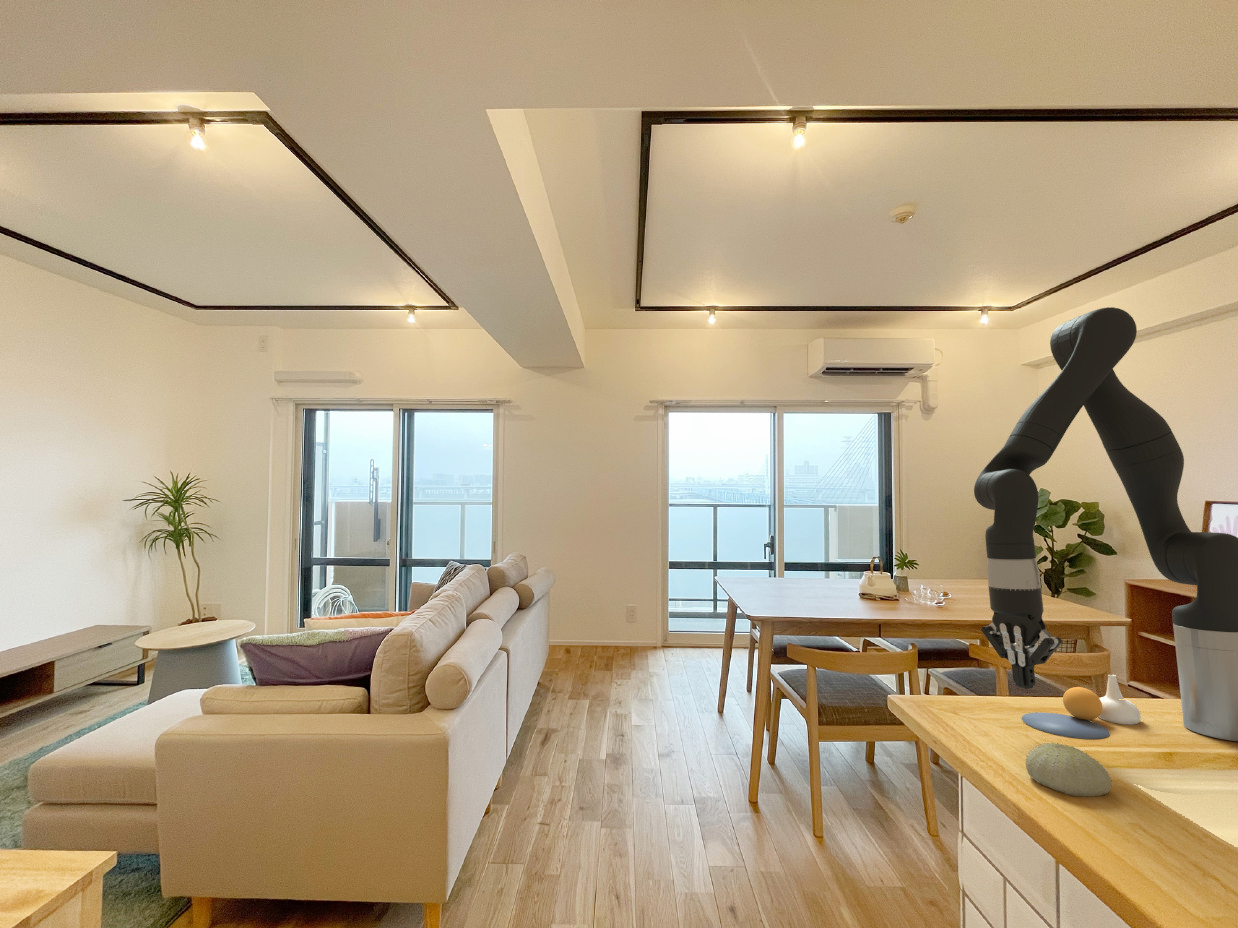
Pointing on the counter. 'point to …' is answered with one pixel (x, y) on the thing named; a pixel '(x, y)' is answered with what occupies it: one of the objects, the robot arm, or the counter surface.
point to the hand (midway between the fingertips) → (1024, 687)
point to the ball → (1082, 703)
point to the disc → (1065, 725)
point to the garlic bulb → (1118, 706)
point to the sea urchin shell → (1067, 770)
